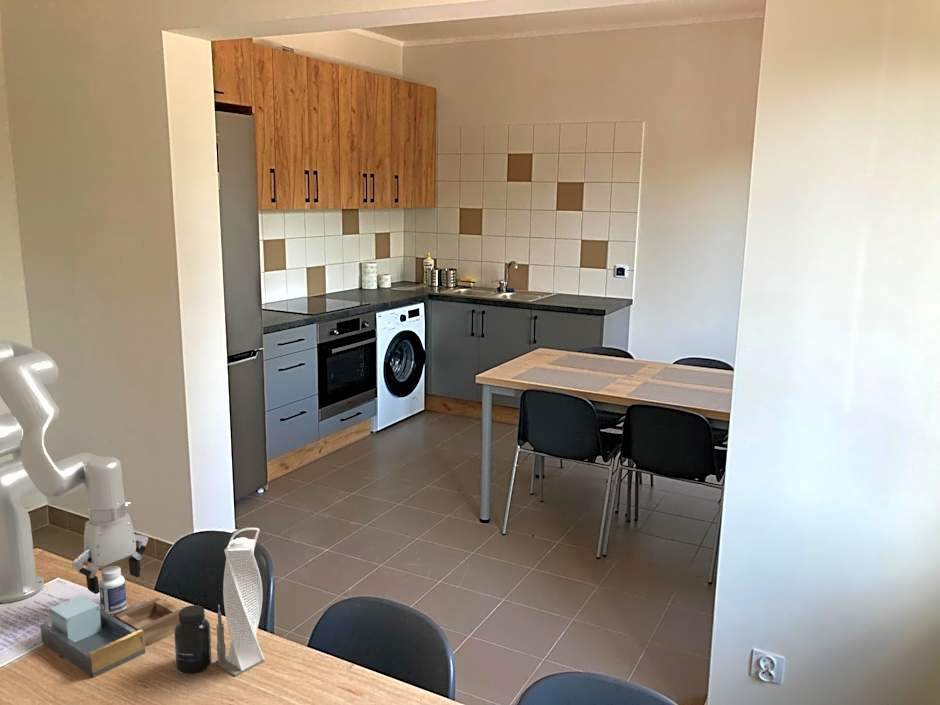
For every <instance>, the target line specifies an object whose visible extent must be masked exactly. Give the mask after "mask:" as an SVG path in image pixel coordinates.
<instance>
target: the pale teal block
mask: <svg viewBox="0 0 940 705" xmlns="http://www.w3.org/2000/svg"><path fill="white" fill-rule="evenodd" d="M100 609H101V604H98V603H96V602H95V601H94V600H92V599H90V598H88V597H86V596H85V595H80V596H77V597H75V598H72V599H70V600H68V601H65V602H62V603H59V604H57V605H55V606H51V607H50V608H49V611H48V612H49V613H50V624H51V625H50V626H51V627H52V628H54V629H55V630H57V631H58V632H60V633H61V634H63V635H64V636H66V637H67V638H69V639H70V640H72V641H73V642H77V641H79V640H82V639H84V638H86V637H89V636H91V635H93V634H95V633H98V632H100V631H101V619H100Z"/></svg>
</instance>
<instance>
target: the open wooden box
mask: <svg viewBox="0 0 940 705" xmlns="http://www.w3.org/2000/svg"><path fill="white" fill-rule="evenodd" d="M180 610H181V609H180V608H178V607H177V606H175V605H173V604H171V603H169V602H167V601H165V600H163V599H161V598H160V597H156V598H154V599H151V600H149V601H146V600H142V601H140V602H137V603H136V604H133V605H131V606H129V607H126V608H125V609H123V610H121V611H119V612H116V613H114V614H112V616H113V617H115V618H116V619H118V620H120V621H121V622H123V623H125V624H126V625H128V626H130V627H131V628H133V629H135V630H136V631H138V630H140V629H142V630H144V642H145V648H146V647H148V646H150V645H152V644H154V643H156V642H159V641H160V640H162V639H165V638H167V637H169V636H171V635H173V634H174V630H175V627H176V625H177V624H178V623H179V612H180Z"/></svg>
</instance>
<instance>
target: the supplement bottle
mask: <svg viewBox="0 0 940 705" xmlns="http://www.w3.org/2000/svg"><path fill="white" fill-rule="evenodd" d="M205 611H206V610H205V608H204V606H201V605H196V604H193V605H188V606H185V607H182V608H181V609H180V612H179V623H178V624H177V625H176V627H175V630H174V633H173V634H174V652H175V666H176V667H175V668H176V670H177V671H178V672H180V673H181V674H185V675H193V674H194V675H196V674H198V673H201V672H204V671H205V670H206V669H208V668H209V667H210V666H211V664H212V661H213V660H212V659H213V658H212V636H211V633H212V632H211V631H212V630H211V623H210V622H209V620H208V619H207V618H206V613H205Z"/></svg>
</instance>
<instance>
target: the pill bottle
mask: <svg viewBox="0 0 940 705" xmlns="http://www.w3.org/2000/svg"><path fill="white" fill-rule="evenodd" d="M121 569H122V568H121V567H120V566H118V565H112V566H107V567H104V568H103V569H102V570H101V579H100V580H99V581H98V584H99V601H100V609H101V610H103V611H104V612H106V613H108V614H109V615H113V614H114V613H116V612H119V611H121V610H123V609H126V608H128V607H127V606H128V602H127V601H128V600H127V593H126V592H127V591H126V581H125V580H126V579H125V577H124V576H123V575H122V571H121Z"/></svg>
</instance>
